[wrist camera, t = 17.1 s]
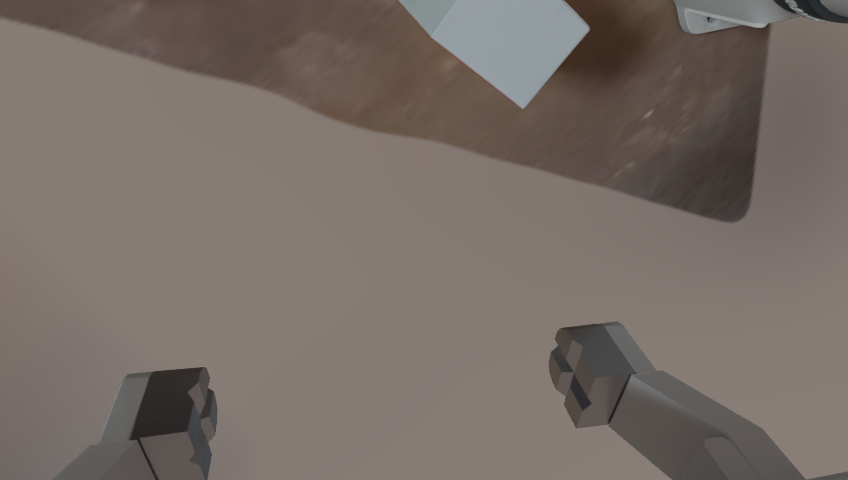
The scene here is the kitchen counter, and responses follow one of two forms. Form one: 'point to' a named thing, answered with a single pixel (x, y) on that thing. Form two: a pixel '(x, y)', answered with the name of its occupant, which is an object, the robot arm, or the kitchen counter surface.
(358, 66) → the kitchen counter surface
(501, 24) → the small box
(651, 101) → the kitchen counter surface
